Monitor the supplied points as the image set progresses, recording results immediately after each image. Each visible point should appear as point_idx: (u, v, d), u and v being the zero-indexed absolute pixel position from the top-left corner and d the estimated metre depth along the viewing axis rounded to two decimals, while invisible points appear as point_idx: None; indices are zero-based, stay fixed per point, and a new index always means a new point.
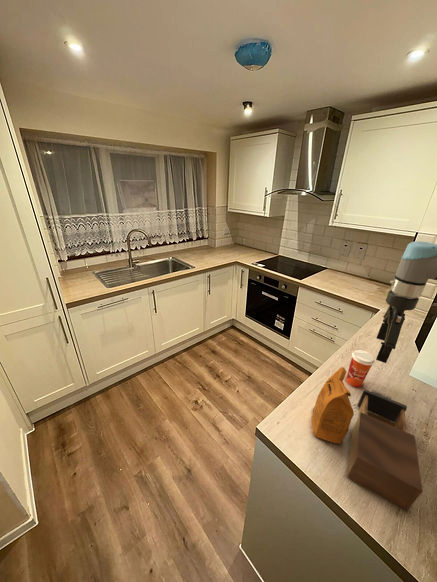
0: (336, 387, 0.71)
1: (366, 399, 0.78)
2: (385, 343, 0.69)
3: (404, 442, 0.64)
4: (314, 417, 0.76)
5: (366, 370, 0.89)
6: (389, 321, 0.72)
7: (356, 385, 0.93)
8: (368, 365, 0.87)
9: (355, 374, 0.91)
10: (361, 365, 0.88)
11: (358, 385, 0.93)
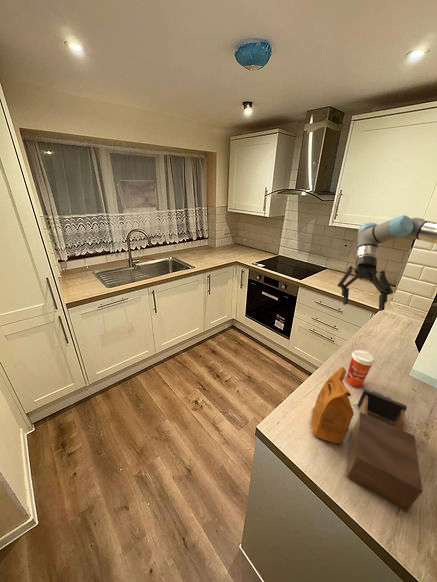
0: (336, 387, 0.71)
1: (366, 399, 0.78)
2: None
3: (404, 442, 0.64)
4: (314, 417, 0.76)
5: (366, 370, 0.89)
6: (354, 277, 0.99)
7: (356, 385, 0.93)
8: (368, 365, 0.87)
9: (355, 374, 0.91)
10: (361, 365, 0.88)
11: (358, 385, 0.93)
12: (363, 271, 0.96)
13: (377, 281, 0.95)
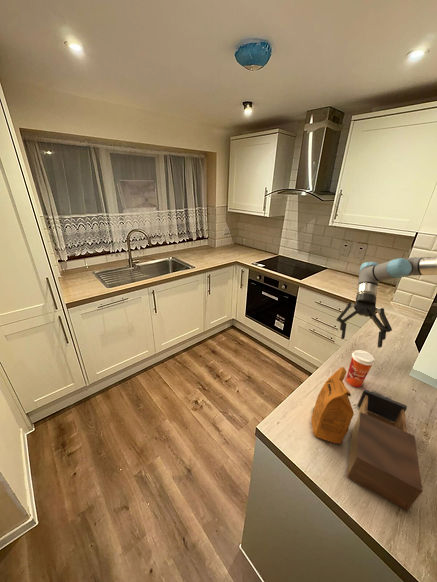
0: (336, 387, 0.71)
1: (366, 399, 0.78)
2: None
3: (404, 442, 0.64)
4: (314, 417, 0.76)
5: (366, 370, 0.89)
6: None
7: (356, 385, 0.93)
8: (368, 365, 0.87)
9: (355, 374, 0.91)
10: (361, 365, 0.88)
11: (358, 385, 0.93)
12: (361, 307, 1.00)
13: (376, 318, 0.98)
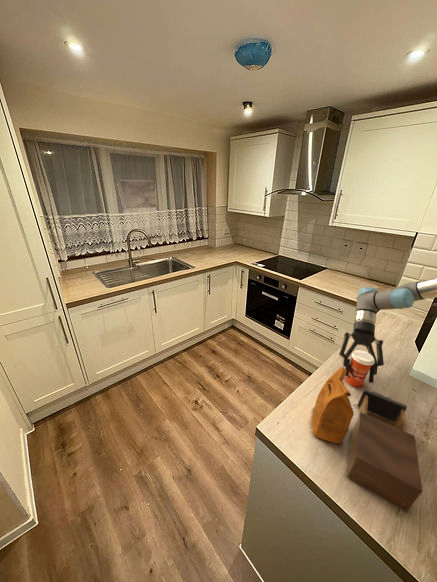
0: (336, 387, 0.71)
1: (366, 399, 0.78)
2: None
3: (404, 442, 0.64)
4: (314, 417, 0.76)
5: (366, 370, 0.89)
6: None
7: (356, 385, 0.93)
8: (368, 365, 0.87)
9: (355, 374, 0.91)
10: (361, 365, 0.88)
11: (358, 385, 0.93)
12: (360, 337, 0.94)
13: (371, 349, 0.92)
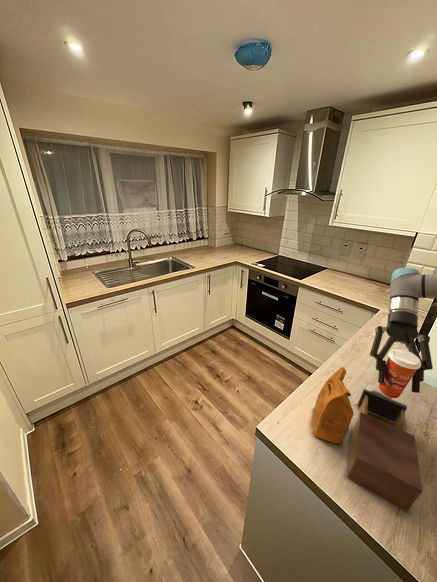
0: (336, 387, 0.71)
1: (366, 399, 0.78)
2: None
3: (404, 442, 0.64)
4: (314, 417, 0.76)
5: (409, 376, 0.66)
6: (387, 340, 0.74)
7: (394, 395, 0.70)
8: (413, 368, 0.65)
9: (393, 380, 0.69)
10: (403, 369, 0.66)
11: (396, 395, 0.70)
12: (398, 332, 0.72)
13: (414, 348, 0.70)
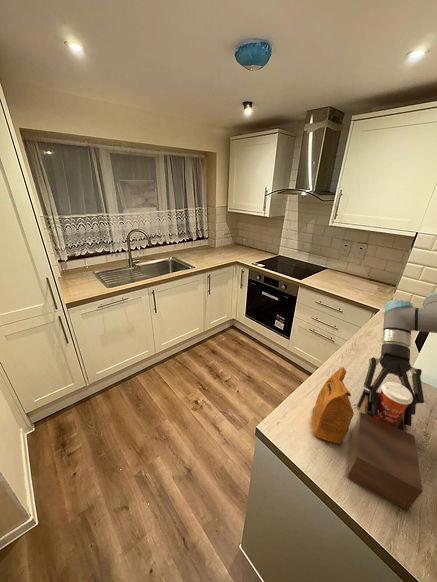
0: (336, 387, 0.71)
1: (366, 399, 0.78)
2: None
3: (404, 442, 0.64)
4: (314, 417, 0.76)
5: (402, 410, 0.68)
6: (381, 371, 0.76)
7: None
8: (404, 403, 0.67)
9: (386, 413, 0.70)
10: (396, 404, 0.68)
11: None
12: (391, 364, 0.74)
13: (406, 381, 0.72)
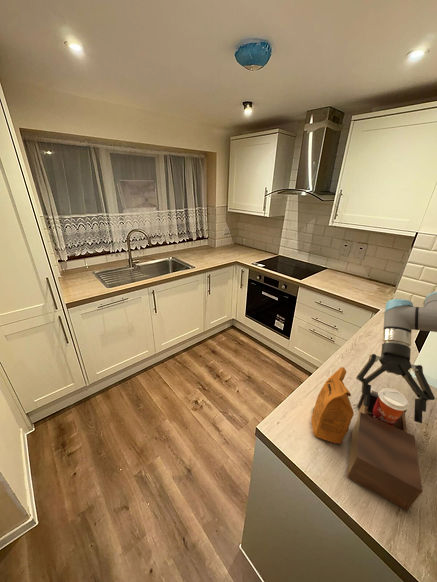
0: (336, 387, 0.71)
1: None
2: None
3: (404, 442, 0.64)
4: (314, 417, 0.76)
5: (397, 416, 0.69)
6: (379, 367, 0.77)
7: None
8: (400, 410, 0.68)
9: (382, 419, 0.72)
10: (392, 410, 0.69)
11: None
12: (391, 363, 0.74)
13: (411, 379, 0.71)
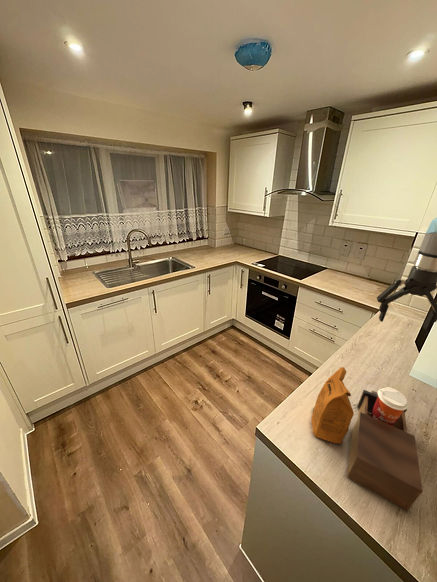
0: (336, 387, 0.71)
1: (366, 400, 0.78)
2: None
3: (404, 442, 0.64)
4: (314, 417, 0.76)
5: (397, 415, 0.69)
6: (402, 288, 0.81)
7: None
8: (400, 409, 0.68)
9: (382, 419, 0.72)
10: (391, 409, 0.69)
11: None
12: (414, 288, 0.76)
13: (431, 299, 0.76)
